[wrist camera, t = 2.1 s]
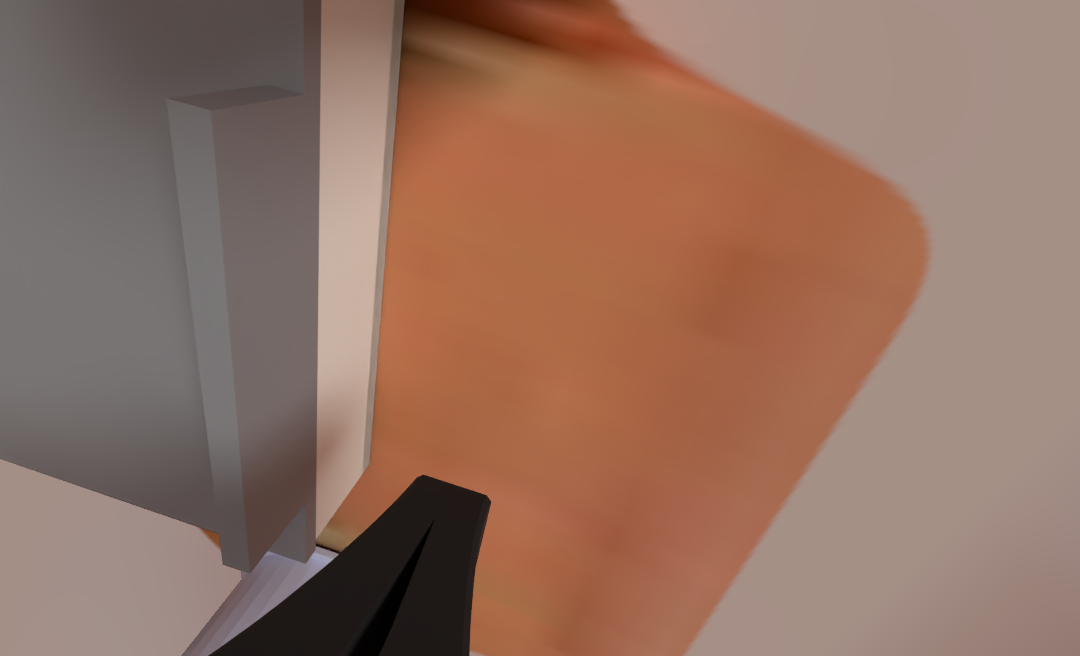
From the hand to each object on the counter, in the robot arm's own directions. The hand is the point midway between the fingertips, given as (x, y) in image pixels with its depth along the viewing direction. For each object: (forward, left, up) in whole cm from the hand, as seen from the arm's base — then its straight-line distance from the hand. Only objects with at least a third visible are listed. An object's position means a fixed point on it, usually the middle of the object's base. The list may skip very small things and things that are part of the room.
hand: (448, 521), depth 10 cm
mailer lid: (0, +13, -4) cm, 13 cm away
